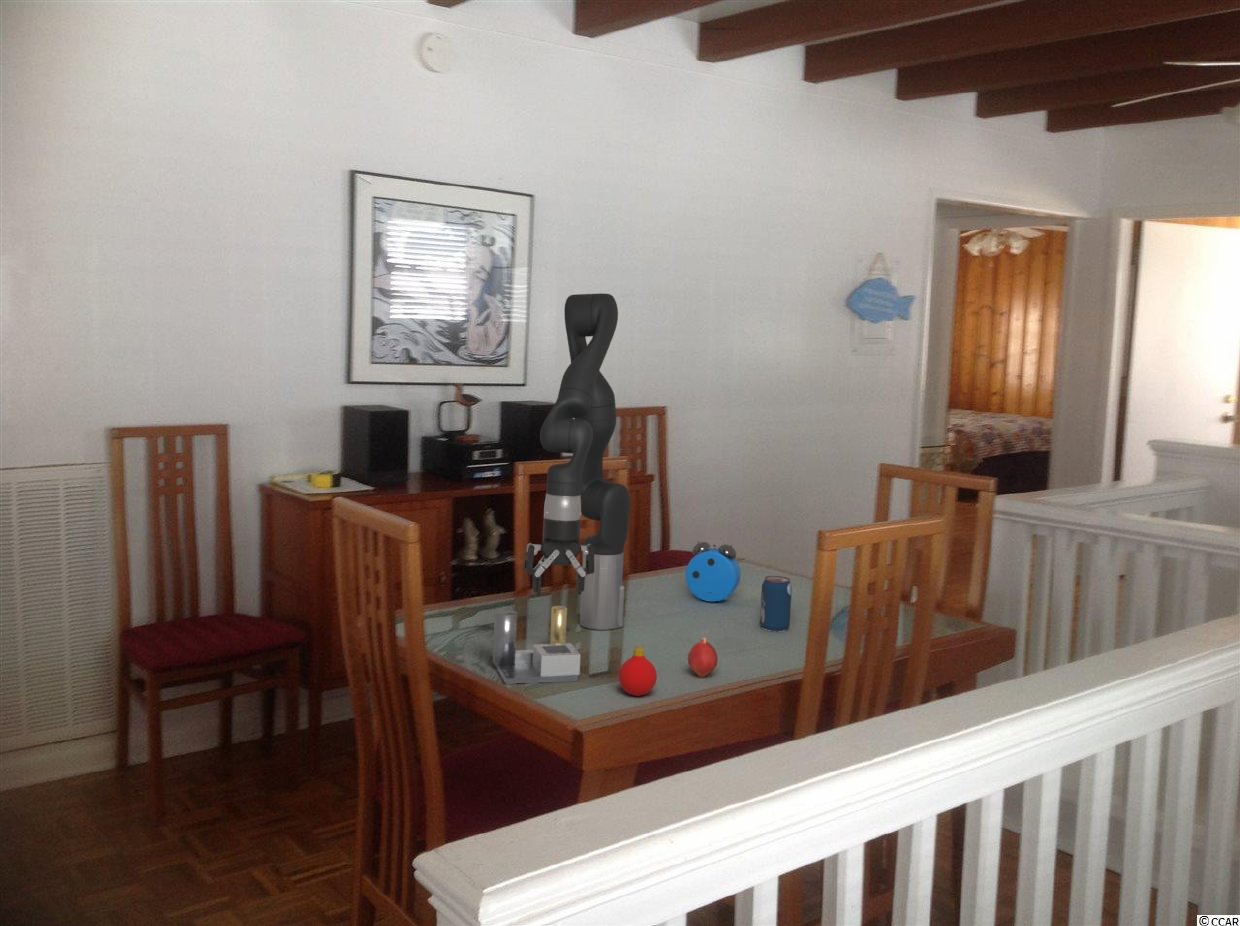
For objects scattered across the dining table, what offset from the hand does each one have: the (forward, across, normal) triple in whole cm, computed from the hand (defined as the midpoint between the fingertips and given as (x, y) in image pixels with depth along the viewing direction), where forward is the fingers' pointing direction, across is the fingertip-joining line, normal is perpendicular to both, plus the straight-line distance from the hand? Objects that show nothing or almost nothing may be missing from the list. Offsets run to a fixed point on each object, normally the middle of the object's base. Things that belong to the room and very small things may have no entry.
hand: (557, 593), depth 221 cm
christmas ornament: (+13, -10, +26) cm, 31 cm away
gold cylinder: (+13, -1, 0) cm, 13 cm away
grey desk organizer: (+13, +6, +11) cm, 18 cm away
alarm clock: (+12, -50, -41) cm, 66 cm away
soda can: (+12, -55, -14) cm, 58 cm away
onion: (+13, -26, +18) cm, 34 cm away
